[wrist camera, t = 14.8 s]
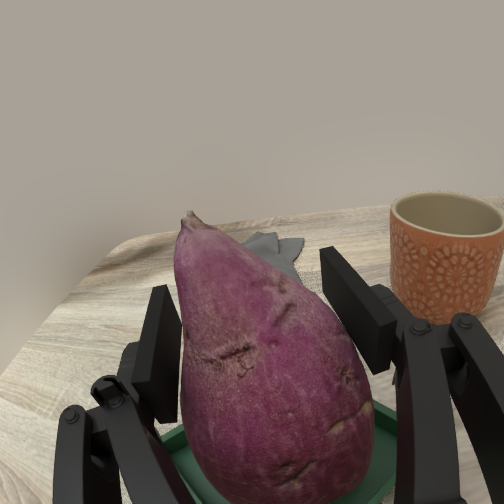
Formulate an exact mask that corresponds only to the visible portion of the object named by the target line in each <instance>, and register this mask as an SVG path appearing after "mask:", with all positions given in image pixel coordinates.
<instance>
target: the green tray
mask: <svg viewBox="0 0 504 504" xmlns="http://www.w3.org/2000/svg"><path fill="white" fill-rule="evenodd" d="M373 404H374V445H373V452H372V459H371V463H370V466H369V469H368V471H367V473H366V475H365V477H364V479H363V480H362V481H361V483H360V484H359V485H358V486H357V487H356V488H355V489H353V490H352V491H351V492H349V493H348V494H346V495H344V496H342V497H341V498H339V499H337V500H335V501H333V502H331V503H329V504H379V503H380V502H381V501H382V500H383V499H384V498H385V497H386V495H387V494H388V493H389V492H390V491H391V490H392V489H393V487H394V486H395V483H396V462H397V412H395V411H393V410H391V409H389V408H388V407H386V406H384V405H382V404H380V403H379V402H377V401H375V400H373ZM161 439H162V441H163V443H164V445H165V447H166V449H167V451H168V453H169V455H170V457H171V459H172V461H173V463H174V465H175V467H176V468H177V470H178V472H179V474H180V476H181V478H182V480H183V481H184V483H185V485H186V487H187V488H188V490H189V492H190V494H191V495H192V497H193V499H194V500H195V502H196V504H232V503H230V502H229V501H227V500H226V499H225V498H224V497H222V496H221V495H220V494H219V493H218V492H217V491H216V489H215V488H214V487H213V486H212V485H211V484H210V482H209V481H208V480H207V479H206V477H205V475H204V474H203V472H202V470H201V469H200V467H199V465H198V463H197V461H196V459H195V457H194V455H193V453H192V451H191V448H190V446H189V443H188V440H187V437H186V434H185V431H184V426H183V424H181V425H179V426H178V427H176V428H174V429H173V430H171V431H169V432H167V433H166V434H164V435H162V436H161Z"/></svg>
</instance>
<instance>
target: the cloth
mask: <svg viewBox="0 0 504 504" xmlns="http://www.w3.org/2000/svg"><path fill="white" fill-rule="evenodd" d="M303 243H304V238H285V239H280V240H278V237H277V234H276V232H272V233H266V234H263V233H261V232H256V233H255V234H253V235H252V236H251V237H250V238H249V239H248V240H247V241H246V242H244V243H242V244H241V245H243V246H244V247H245V248H247V249H248V250H250V251H251V252H253V253H254V254H256V255H257V256H258V257H260V258H261V259H262V260H264V261H265V262H267V263H268V264H270V265H271V266H273V267H274V268H276V269H278V270H279V271H281V272H283V273H284V274H286V275H288V276H289V277H291V278H292V279H294V280H295V281H297V282H298V283H300V284H302V282H301V280H300V278H299V276H298V274H297V272H296V270H295V268H294V266H293V265H292V264H293V260H294V259H296V258H297V256H298V255H299V253H300V251H301V249H302V246H303ZM302 285H303V284H302Z"/></svg>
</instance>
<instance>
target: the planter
mask: <svg viewBox="0 0 504 504" xmlns="http://www.w3.org/2000/svg"><path fill="white" fill-rule="evenodd" d="M390 250H391V265H390V274H391V285H392V289H393V292H394V295H395V296H396V297H397V298H398V299H399V301H401V302H402V303H403V304H404V305H405V306H406V308H407V309H408V310H409V311H410V312H411V313H412V314H413V315H414V316H415V317H416V318H421V319H425V320H428V321H429V322H430V323H432V324H433V325H444V324H450V322H451V318H452V317H453V316H454V315H455V314H457V313H461V312H465V313H470V314H472V315H474V316H476V315H477V314H478V313H479V312H480V311H481V310H482V309H483V308H484V306H485V305H486V303H487V302H488V300H489V298H490V295H491V293H492V290H493V288H494V284H495V280H496V277H497V273H498V270H499V266H500V262H501V259H502V255H503V250H504V213H503V212H502V211H501V210H500V209H499V208H498V207H496V206H495V205H493V204H491V203H489V202H487V201H485V200H483V199H480V198H477V197H474V196H470V195H466V194H461V193H456V192H448V191H422V192H415V193H410V194H406V195H404V196H401V197H399V198H397V199H396V200H395V201H394V202H393V203H392V205H391V209H390Z"/></svg>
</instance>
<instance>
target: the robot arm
mask: <svg viewBox="0 0 504 504" xmlns="http://www.w3.org/2000/svg"><path fill="white" fill-rule="evenodd" d="M319 251H320V262H321V275H322V288H323V293H324V295H325V297H326V298H327V300H328V301H329V303H330V305H331V306H332V308H333V309H334V311H335V313H336V314H337V316H338V317H339V319H340V321H341V322H342V324H343V326H344V327H345V329H346V330H347V332H348V334H349V335H350V337H351V339H352V340H353V342H354V344H355V345H356V347H357V349H358V350H359V352H360V354H361V355H362V357H363V359H364V360H365V362H366V364H367V365H368V367H369V369H370V370H371V372H372V374H373V375H376V374H378V373H381V372H383V371H386V370H389V368H390V363H391V360H392V362H393V363H394V365H395V366H396V368H395V373H394V377H393V382H392V385H394V384H395V389H396V412H397V462H396V483H395V497H394V504H467V502H466V500H464V499H463V498H462V497H461V495H460V480H459V462H458V450H457V440H456V432H455V424H454V417H453V410H452V404H451V398H450V395H451V397H452V399H453V401H454V404H455V406H456V408H457V410H458V412H459V415H460V417H461V419H462V422H463V424H464V426H465V429H466V431H467V433H468V436H469V438H470V441H471V443H472V446H473V448H474V451H475V454H476V456H477V459H478V462H479V464H480V467H481V470H482V473H483V476H484V479H485V482H486V485H487V488H488V491H489V494H490V497H491V501H492V504H504V355H503V354H502V352H501V351H500V349H499V348H498V346H497V345H496V343H495V342H494V341H493V339H492V338H491V336H490V335H489V334H488V332H487V331H486V330H485V328H484V327H483V326H482V324H481V323H480V322H479V320H478V319H477V318H476V317H475V316H474V315H472V314H470V313H465V312H461V313H457V314H455V315H454V316H453V317H452V318H451V322H450V324H444V325H433V324H432V323H430V322H429V321H428V320H425V319H421V318H416V317H415V316H414V315H413V314H412V313H411V312H410V311H409V310H408V309H407V308H406V306H405V305H404V304H403V303H402V302H401V301H399V299H398V298H397V297H396V296H395V295H394V294H393V292H392V291H391V290H390V289H389V288H387V287H385V286H383V285H381V284H377V285H374V286H371V287H369V286H368V285H367V283H366V282H365V281H364V280H363V279H362V278H361V277H360V275H359V274H358V273H357V272H356V271H355V270H354V269H353V268H352V267H351V265H350V264H349V263H348V262H347V261H346V260H345V259H344V258H343V257H342V255H341V254H340V253H339V252H338V251H337V250H336V249H335V248H334V247H333V246H330V247H326V248H322V249H319ZM181 334H182V323H181V321H180V318H179V316H178V313H177V311H176V308H175V305H174V303H173V300H172V298H171V295H170V292H169V290H168V287H167V284H165V285H161V286H156V287H153V289H152V293H151V297H150V300H149V304H148V308H147V312H146V316H145V320H144V324H143V328H142V332H141V337H140V341H138V342H132V343H129V344H128V345H127V346H126V348H125V349H124V351H123V353H122V357H121V361H120V365H119V369H118V373H117V376H115V375H106V376H103V377H101V378H99V379H98V380H97V381H96V382H95V383H94V384H93V386H92V388H91V395H92V396H93V398H94V399H95V400H96V401H97V403H98V404H99V405H100V406H98V407H96V408H93V409H90V410H87V411H85V409H84V408H83V407H82V406H80V405H71V406H69V407H67V408H66V409H65V410H64V411H63V412H62V413H61V415H60V418H59V425H58V432H57V441H56V450H55V461H54V476H53V504H122V497H121V487H120V476H119V469H120V472H121V475H122V478H123V481H124V483H125V486H126V489H127V491H128V494H129V496H130V499H131V501H132V504H196V502H195V500H194V499H193V497H192V495H191V494H190V492H189V490H188V488H187V487H186V485H185V483H184V481H183V480H182V478H181V476H180V474H179V472H178V470H177V468H176V467H175V465H174V463H173V461H172V459H171V457H170V455H169V453H168V451H167V449H166V447H165V445H164V443H163V441H162V439H161V436H160V434H159V432H158V430H157V429H156V428H155V426H154V419H155V418H156V419H157V421H158V422H159V423H160V424H166V423H176V422H177V414H178V386H179V366H180V349H181Z"/></svg>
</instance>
